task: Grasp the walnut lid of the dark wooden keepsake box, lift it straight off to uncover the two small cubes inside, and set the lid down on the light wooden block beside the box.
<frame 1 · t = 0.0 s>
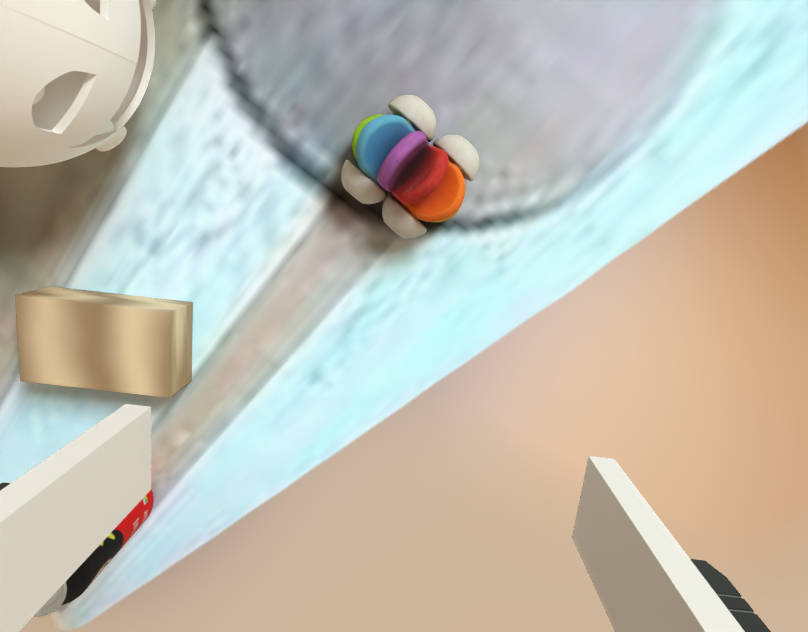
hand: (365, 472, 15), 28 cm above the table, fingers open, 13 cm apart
light wooden block: (122, 334, 44), on the table
rainbow disc baby toy: (409, 171, 41), on the table
beverage can: (126, 489, 48), on the table
decorative ball: (94, 55, 39), on the table
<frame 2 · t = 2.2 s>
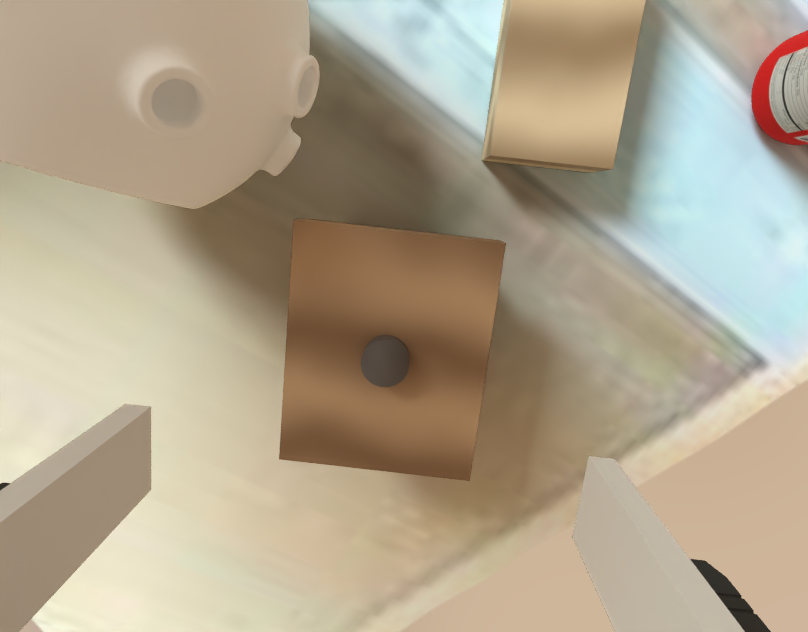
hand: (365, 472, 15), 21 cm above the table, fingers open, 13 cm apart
light wooden block: (551, 66, 32), on the table
beverage can: (791, 93, 32), on the table
decorative ball: (198, 62, 32), on the table
lid: (388, 346, 29), point 7 cm above the table, touching box
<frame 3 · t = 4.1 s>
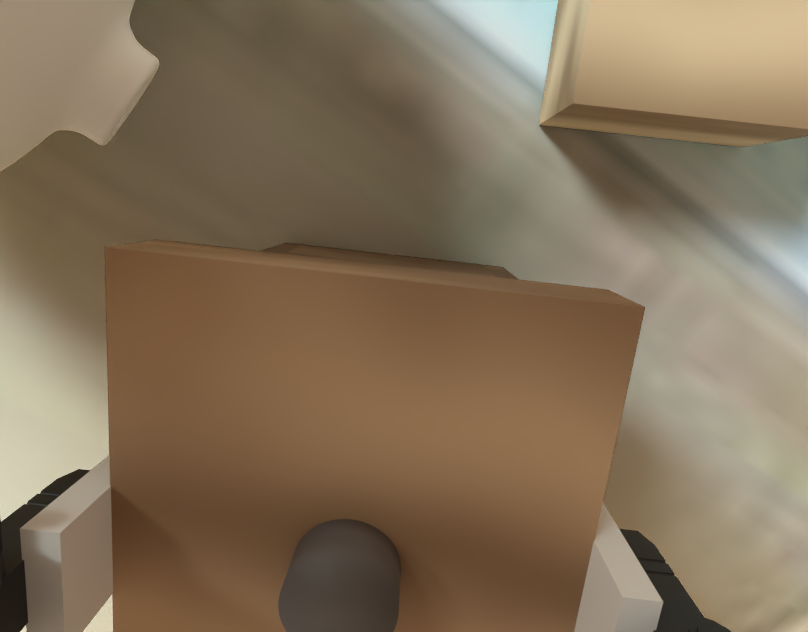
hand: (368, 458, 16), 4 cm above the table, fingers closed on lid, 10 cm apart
box: (378, 407, 20), on the table
lid: (357, 513, 13), point 7 cm above the table, touching box, gripper
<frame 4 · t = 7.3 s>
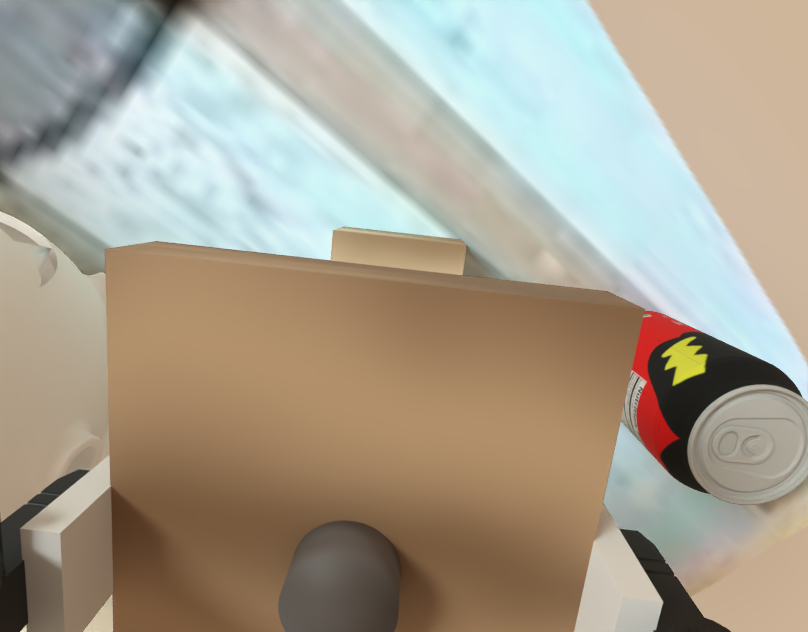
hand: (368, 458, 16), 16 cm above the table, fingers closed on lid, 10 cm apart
light wooden block: (391, 330, 32), on the table
beverage can: (630, 355, 32), on the table
decorative ball: (45, 321, 33), on the table
lid: (357, 514, 13), point 19 cm above the table, touching gripper
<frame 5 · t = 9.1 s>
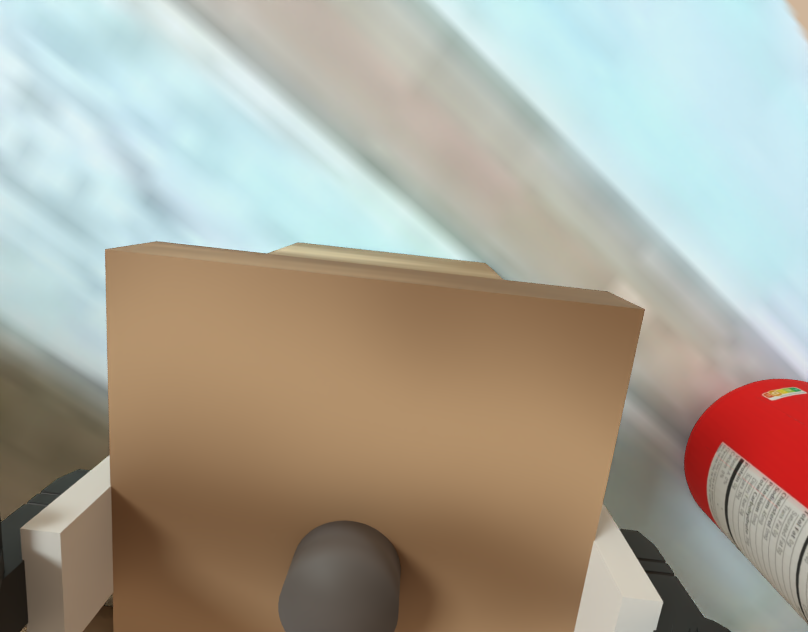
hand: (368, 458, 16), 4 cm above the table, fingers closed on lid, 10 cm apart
light wooden block: (376, 403, 20), on the table
beverage can: (748, 442, 21), on the table
lid: (357, 514, 13), point 7 cm above the table, touching gripper
when the fingers open (2 cm above the table, at t = 10.6 s): lid drops 1 cm, resting on light wooden block.
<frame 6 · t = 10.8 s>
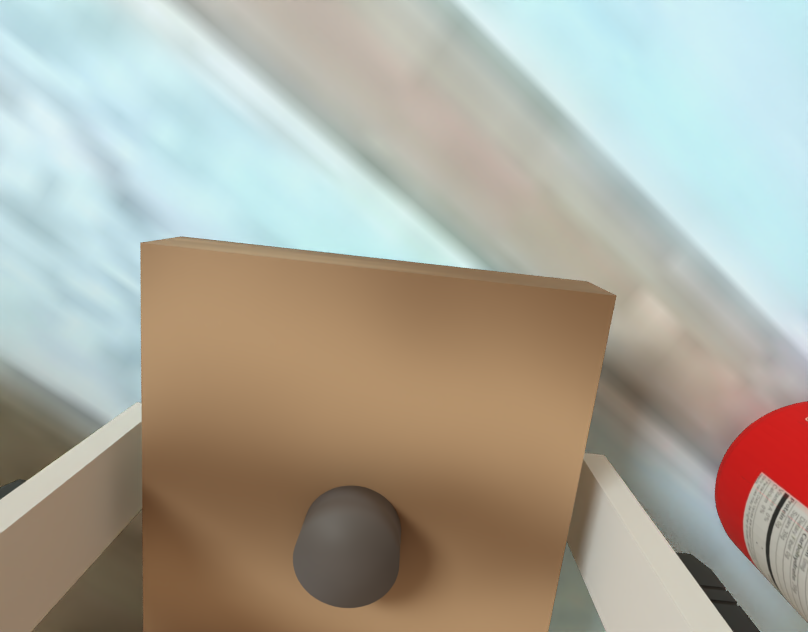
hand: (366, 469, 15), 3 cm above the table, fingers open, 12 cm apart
beverage can: (784, 468, 19), on the table
lid: (361, 485, 15), point 4 cm above the table, touching light wooden block
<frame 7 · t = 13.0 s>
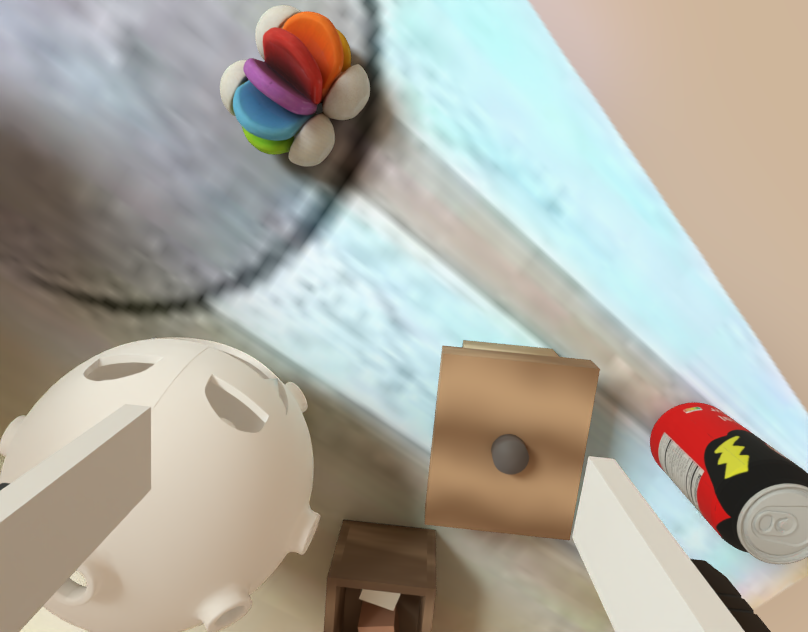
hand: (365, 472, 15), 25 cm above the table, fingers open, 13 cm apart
box: (383, 584, 46), on the table
light wooden block: (498, 415, 42), on the table
cream cube: (385, 564, 44), point 1 cm above the table, touching box
rainbow disc baby toy: (303, 96, 38), on the table
beverage can: (683, 433, 41), on the table
terracotta cube: (381, 613, 45), point 1 cm above the table, touching box
decorative ball: (232, 409, 43), on the table
lid: (504, 437, 38), point 4 cm above the table, touching light wooden block
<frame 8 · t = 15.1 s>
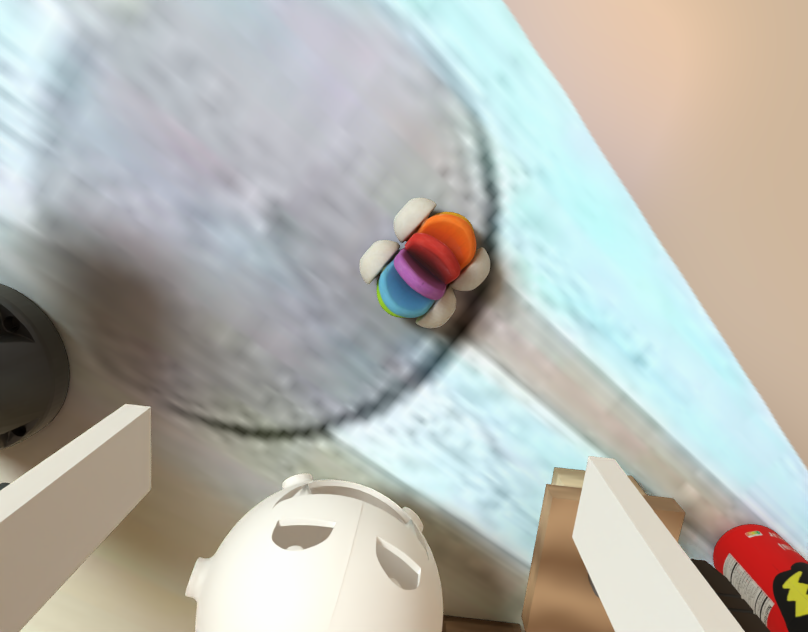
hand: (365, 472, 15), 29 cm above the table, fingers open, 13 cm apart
light wooden block: (580, 529, 48), on the table
rainbow disc baby toy: (424, 261, 43), on the table
beverage can: (740, 546, 48), on the table
decorative ball: (344, 520, 48), on the table
lid: (594, 559, 44), point 4 cm above the table, touching light wooden block
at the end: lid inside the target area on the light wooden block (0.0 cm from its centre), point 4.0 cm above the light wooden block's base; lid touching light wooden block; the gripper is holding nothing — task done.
